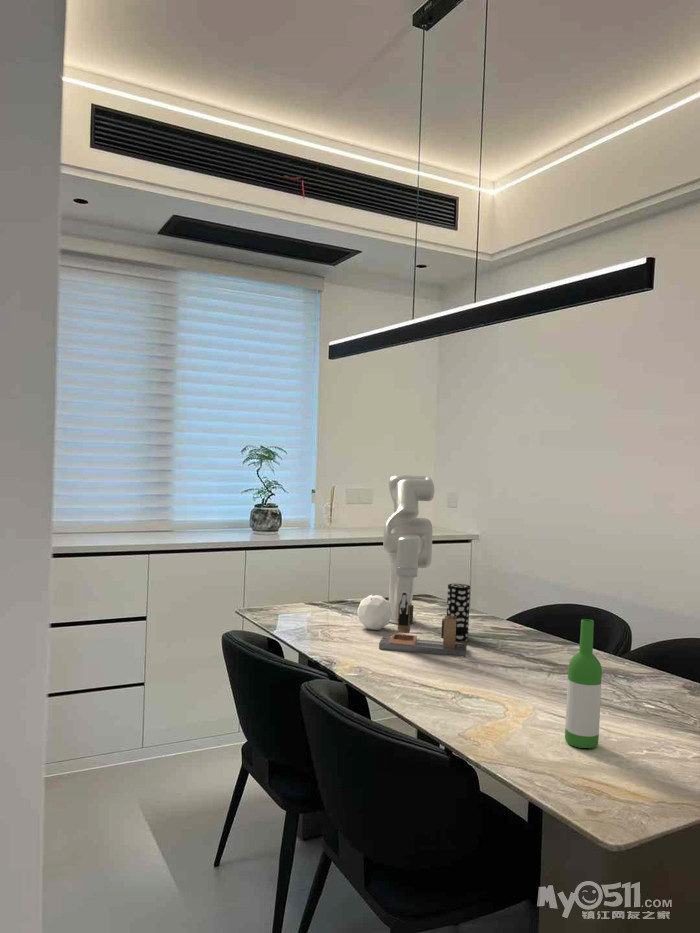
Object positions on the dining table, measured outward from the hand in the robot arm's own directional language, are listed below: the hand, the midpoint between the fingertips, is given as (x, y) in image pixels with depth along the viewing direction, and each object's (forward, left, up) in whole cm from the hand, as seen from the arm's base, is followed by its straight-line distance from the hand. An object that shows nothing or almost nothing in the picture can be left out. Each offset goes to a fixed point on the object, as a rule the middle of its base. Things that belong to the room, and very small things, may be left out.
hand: (404, 622), depth 252 cm
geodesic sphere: (-23, -14, -9) cm, 29 cm away
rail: (0, +7, -9) cm, 11 cm away
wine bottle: (+72, +51, -9) cm, 89 cm away
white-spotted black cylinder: (-19, +18, -9) cm, 28 cm away
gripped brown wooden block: (0, 0, -3) cm, 3 cm away
